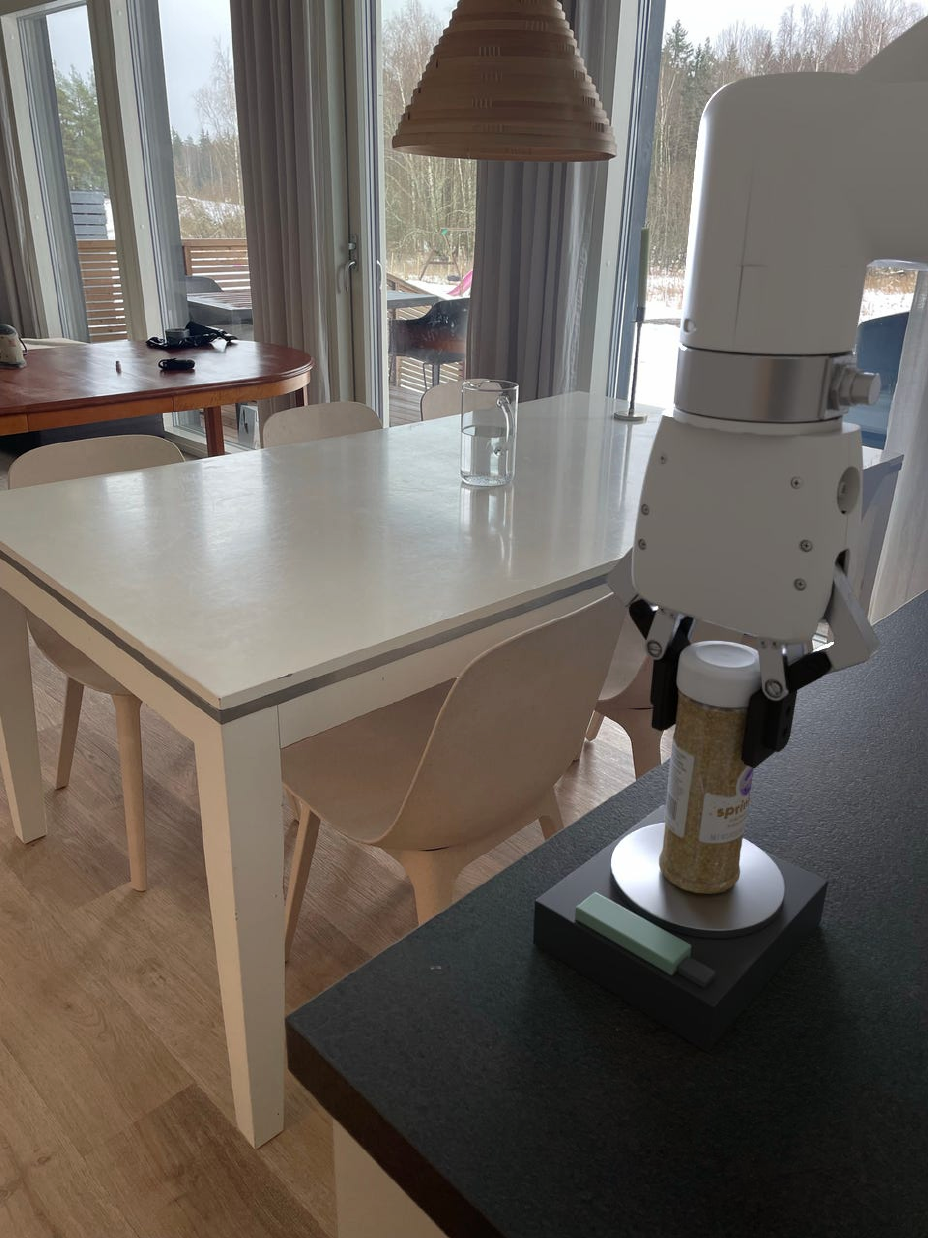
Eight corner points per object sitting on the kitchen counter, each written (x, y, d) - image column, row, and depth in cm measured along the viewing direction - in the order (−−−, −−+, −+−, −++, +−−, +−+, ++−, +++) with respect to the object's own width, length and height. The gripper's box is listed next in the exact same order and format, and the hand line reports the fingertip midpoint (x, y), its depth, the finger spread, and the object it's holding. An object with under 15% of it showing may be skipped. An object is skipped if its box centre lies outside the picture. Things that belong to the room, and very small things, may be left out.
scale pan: (667, 811, 59) (668, 803, 59) (813, 878, 53) (814, 870, 53) (576, 881, 53) (577, 872, 52) (730, 967, 47) (732, 957, 46)
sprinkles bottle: (734, 906, 50) (767, 680, 45) (649, 885, 51) (672, 665, 46) (743, 857, 54) (775, 645, 49) (664, 839, 55) (687, 631, 50)
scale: (658, 843, 61) (663, 793, 60) (820, 922, 54) (831, 868, 53) (532, 943, 52) (535, 888, 51) (707, 1053, 45) (715, 993, 44)
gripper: (985, 401, 40) (904, 770, 46) (646, 363, 50) (621, 669, 57) (923, 424, 34) (842, 835, 41) (561, 377, 45) (545, 710, 52)
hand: (715, 735), depth 49 cm, fingers closed on sprinkles bottle, 4 cm apart
